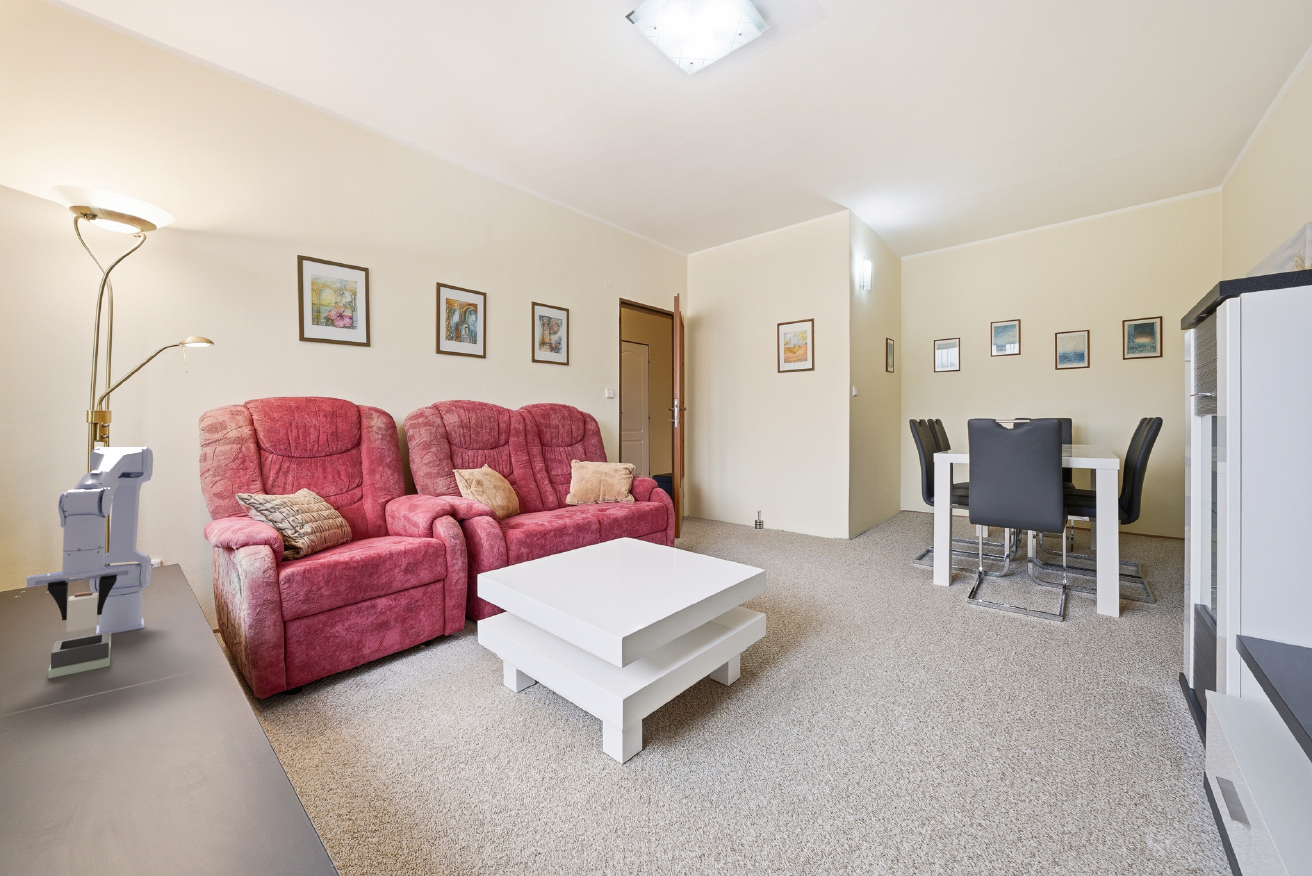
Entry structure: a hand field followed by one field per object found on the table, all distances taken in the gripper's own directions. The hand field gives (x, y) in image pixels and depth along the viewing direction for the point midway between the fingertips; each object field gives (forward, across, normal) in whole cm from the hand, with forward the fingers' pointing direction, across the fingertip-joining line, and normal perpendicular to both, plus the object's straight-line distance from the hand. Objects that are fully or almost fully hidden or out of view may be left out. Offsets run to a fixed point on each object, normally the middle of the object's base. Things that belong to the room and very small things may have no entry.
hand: (82, 616), depth 104 cm
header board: (+10, 0, +5) cm, 11 cm away
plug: (+2, 0, 0) cm, 2 cm away
